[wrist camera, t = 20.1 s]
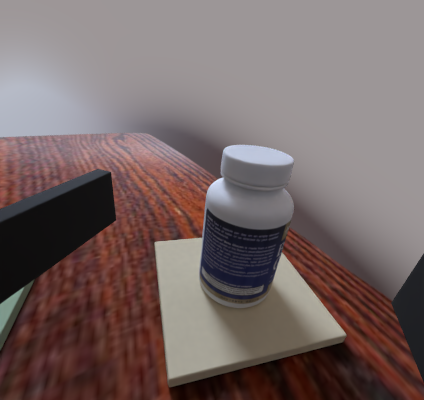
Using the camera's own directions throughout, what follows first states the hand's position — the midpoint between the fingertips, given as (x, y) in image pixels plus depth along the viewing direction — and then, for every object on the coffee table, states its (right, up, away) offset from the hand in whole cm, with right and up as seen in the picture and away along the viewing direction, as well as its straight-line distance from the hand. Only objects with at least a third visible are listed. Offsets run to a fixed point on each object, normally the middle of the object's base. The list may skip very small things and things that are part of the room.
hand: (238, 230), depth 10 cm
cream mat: (0, -5, +8) cm, 9 cm away
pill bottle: (+1, -5, +8) cm, 9 cm away
